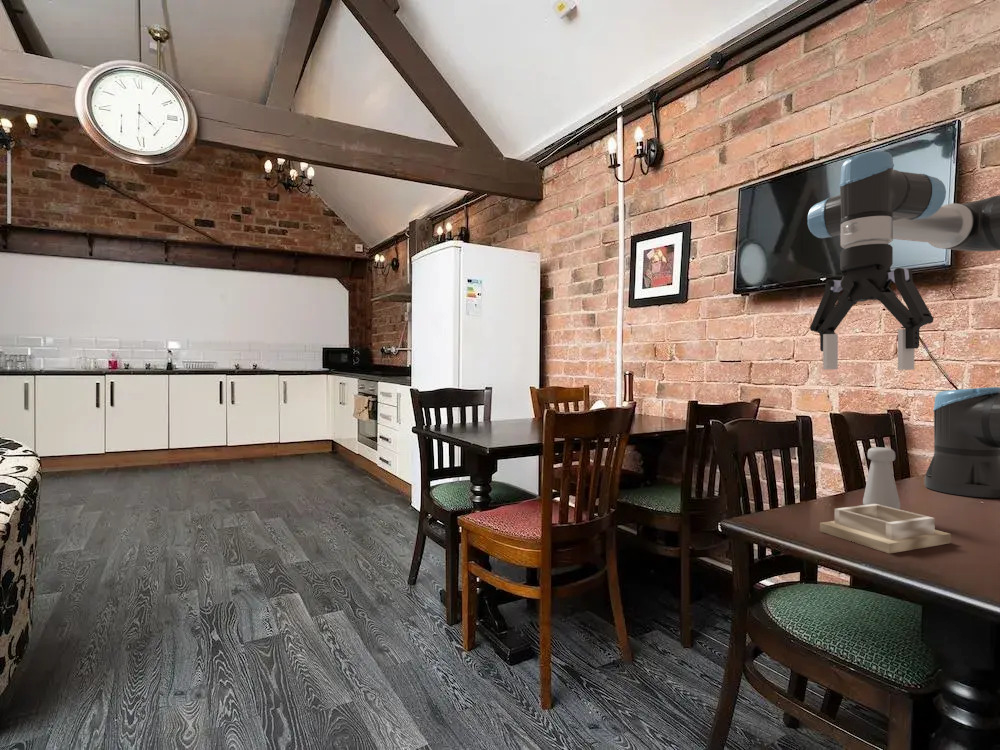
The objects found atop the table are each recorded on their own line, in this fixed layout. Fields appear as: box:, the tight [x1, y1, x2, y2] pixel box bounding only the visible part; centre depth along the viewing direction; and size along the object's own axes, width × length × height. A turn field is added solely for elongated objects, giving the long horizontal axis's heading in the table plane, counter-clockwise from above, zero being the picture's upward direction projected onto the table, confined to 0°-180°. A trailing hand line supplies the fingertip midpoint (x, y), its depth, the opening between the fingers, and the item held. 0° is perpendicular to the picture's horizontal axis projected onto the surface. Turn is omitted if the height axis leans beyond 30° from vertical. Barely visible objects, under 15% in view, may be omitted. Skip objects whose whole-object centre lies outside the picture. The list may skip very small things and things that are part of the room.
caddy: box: [819, 504, 952, 554], centre depth 91 cm, size 14×12×4 cm
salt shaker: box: [862, 446, 901, 510], centre depth 103 cm, size 6×6×13 cm
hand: (865, 369), depth 94 cm, fingers open, 13 cm apart
